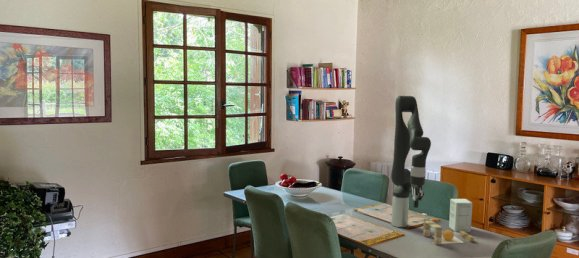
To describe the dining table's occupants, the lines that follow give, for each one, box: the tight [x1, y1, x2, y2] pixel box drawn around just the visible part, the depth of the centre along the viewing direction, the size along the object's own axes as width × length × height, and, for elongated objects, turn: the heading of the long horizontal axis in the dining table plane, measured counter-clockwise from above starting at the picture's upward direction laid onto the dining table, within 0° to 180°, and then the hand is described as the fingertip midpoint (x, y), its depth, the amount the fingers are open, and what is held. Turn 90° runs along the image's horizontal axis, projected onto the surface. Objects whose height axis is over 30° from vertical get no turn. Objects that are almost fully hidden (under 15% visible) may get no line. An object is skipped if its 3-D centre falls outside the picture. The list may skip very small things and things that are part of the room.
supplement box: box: [448, 198, 473, 233], centre depth 259 cm, size 10×9×17 cm
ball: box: [442, 229, 454, 241], centre depth 240 cm, size 6×6×6 cm
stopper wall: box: [458, 231, 475, 243], centre depth 244 cm, size 11×2×2 cm, turn 10°
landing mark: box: [431, 234, 465, 245], centre depth 242 cm, size 12×12×1 cm
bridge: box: [422, 218, 443, 246], centre depth 240 cm, size 14×3×9 cm, turn 10°
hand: (415, 207), depth 238 cm, fingers closed
